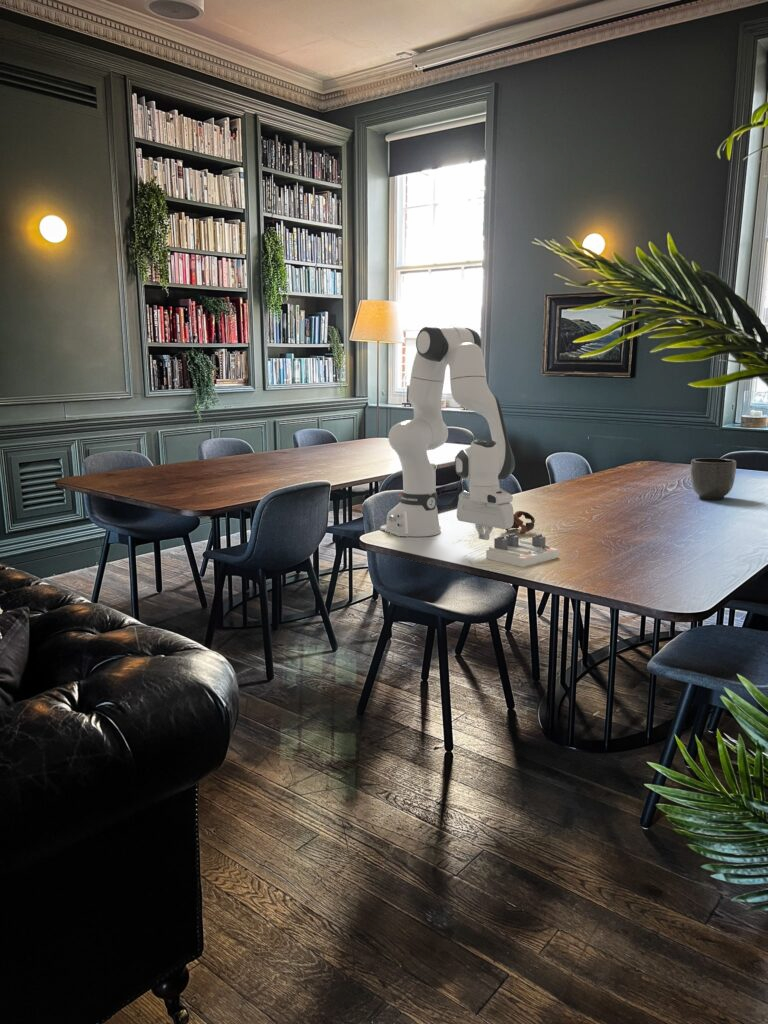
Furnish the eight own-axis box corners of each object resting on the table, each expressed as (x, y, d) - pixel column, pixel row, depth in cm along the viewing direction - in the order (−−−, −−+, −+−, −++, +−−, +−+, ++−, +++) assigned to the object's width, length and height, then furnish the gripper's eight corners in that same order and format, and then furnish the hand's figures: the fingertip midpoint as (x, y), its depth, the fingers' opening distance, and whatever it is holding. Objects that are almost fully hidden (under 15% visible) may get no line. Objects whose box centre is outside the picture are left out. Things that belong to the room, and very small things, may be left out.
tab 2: (532, 547, 229) (532, 534, 228) (537, 546, 230) (537, 533, 230) (540, 548, 226) (540, 536, 226) (545, 547, 228) (545, 534, 227)
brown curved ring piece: (524, 529, 269) (534, 511, 264) (530, 546, 261) (539, 528, 257) (493, 522, 266) (501, 504, 262) (497, 539, 259) (506, 521, 254)
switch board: (486, 558, 228) (486, 547, 227) (521, 549, 238) (521, 539, 237) (523, 567, 217) (523, 555, 216) (558, 557, 227) (558, 546, 226)
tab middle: (505, 546, 230) (505, 533, 229) (510, 545, 232) (510, 532, 231) (513, 548, 228) (513, 535, 227) (518, 547, 229) (518, 534, 229)
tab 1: (494, 549, 227) (494, 536, 226) (499, 548, 229) (499, 535, 228) (501, 551, 225) (502, 538, 224) (507, 549, 226) (507, 536, 226)
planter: (683, 495, 329) (685, 458, 326) (724, 494, 328) (726, 457, 325) (697, 502, 312) (700, 463, 309) (740, 501, 311) (743, 462, 308)
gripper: (452, 491, 235) (452, 535, 237) (502, 499, 219) (502, 546, 222) (466, 489, 239) (466, 532, 241) (517, 496, 223) (516, 542, 226)
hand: (484, 539), depth 231 cm, fingers closed
